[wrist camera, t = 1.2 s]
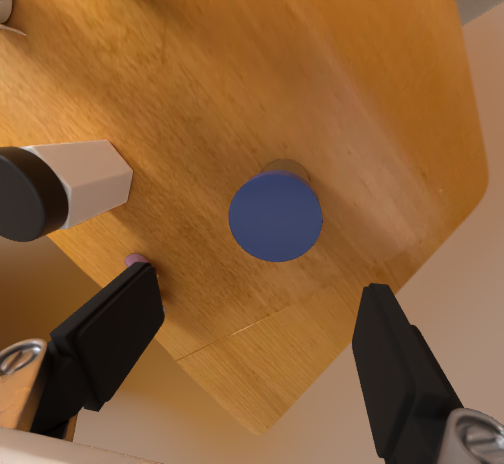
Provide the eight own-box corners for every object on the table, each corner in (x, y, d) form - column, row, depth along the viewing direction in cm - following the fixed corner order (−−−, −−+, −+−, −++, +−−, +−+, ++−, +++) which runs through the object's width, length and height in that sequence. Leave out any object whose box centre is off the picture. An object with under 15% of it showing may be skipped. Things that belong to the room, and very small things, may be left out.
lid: (326, 170, 18) (329, 175, 16) (316, 254, 20) (318, 265, 19) (232, 168, 19) (226, 173, 17) (235, 248, 21) (230, 258, 20)
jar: (77, 124, 29) (-54, 124, 18) (138, 154, 29) (44, 172, 18) (71, 189, 33) (-39, 222, 22) (126, 216, 33) (42, 260, 22)
